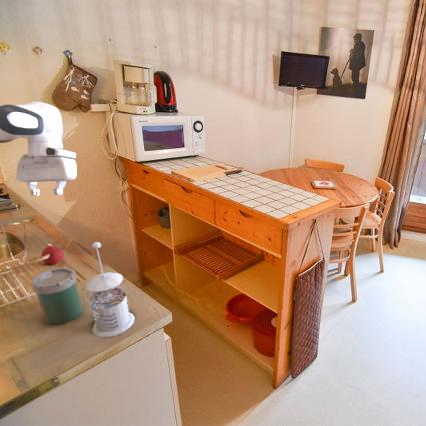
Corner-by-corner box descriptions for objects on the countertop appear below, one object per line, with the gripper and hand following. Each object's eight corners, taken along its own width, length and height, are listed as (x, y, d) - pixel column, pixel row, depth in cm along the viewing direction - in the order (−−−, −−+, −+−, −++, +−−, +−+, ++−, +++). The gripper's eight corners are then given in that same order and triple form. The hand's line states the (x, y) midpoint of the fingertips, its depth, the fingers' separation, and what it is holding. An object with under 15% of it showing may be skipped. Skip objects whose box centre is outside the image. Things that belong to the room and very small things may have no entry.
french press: (115, 340, 81) (96, 256, 71) (76, 331, 82) (52, 247, 73) (142, 315, 89) (128, 236, 80) (107, 307, 91) (89, 229, 82)
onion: (66, 258, 112) (60, 238, 109) (65, 266, 108) (59, 245, 105) (45, 262, 109) (38, 242, 106) (43, 270, 105) (36, 249, 101)
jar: (38, 328, 82) (25, 289, 77) (49, 306, 90) (37, 270, 85) (80, 320, 86) (70, 283, 81) (87, 300, 93) (78, 264, 89)
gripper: (9, 152, 103) (10, 195, 103) (62, 149, 100) (62, 193, 100) (30, 156, 110) (31, 196, 110) (80, 153, 106) (81, 194, 106)
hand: (46, 194), depth 105 cm, fingers open, 8 cm apart
